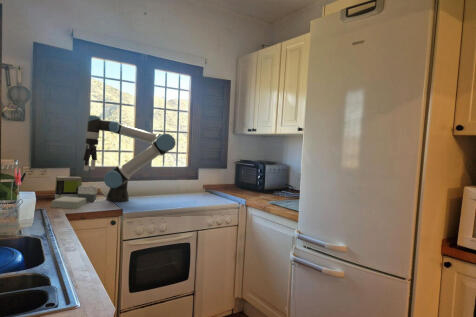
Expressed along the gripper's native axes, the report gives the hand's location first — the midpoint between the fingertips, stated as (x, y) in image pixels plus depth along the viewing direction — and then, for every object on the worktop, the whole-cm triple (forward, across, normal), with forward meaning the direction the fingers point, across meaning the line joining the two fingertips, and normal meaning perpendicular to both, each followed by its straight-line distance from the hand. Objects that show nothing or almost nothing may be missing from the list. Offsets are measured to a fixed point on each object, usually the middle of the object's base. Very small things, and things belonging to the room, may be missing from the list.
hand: (89, 170), depth 203 cm
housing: (+21, 0, 0) cm, 21 cm away
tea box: (+21, -5, -14) cm, 26 cm away
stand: (+21, +19, -4) cm, 29 cm away
